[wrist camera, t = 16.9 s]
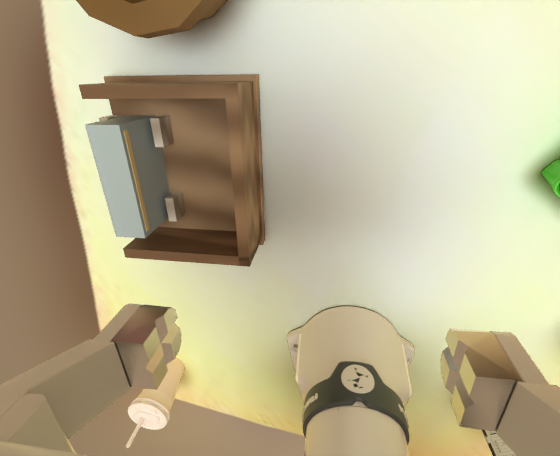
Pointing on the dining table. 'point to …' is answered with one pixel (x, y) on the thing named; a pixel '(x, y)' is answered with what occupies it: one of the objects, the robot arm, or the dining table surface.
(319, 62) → the dining table surface
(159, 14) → the flowerpot
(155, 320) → the robot arm
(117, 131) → the grey box with stripe
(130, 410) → the smoothie
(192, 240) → the wooden box
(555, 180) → the fruit basket
